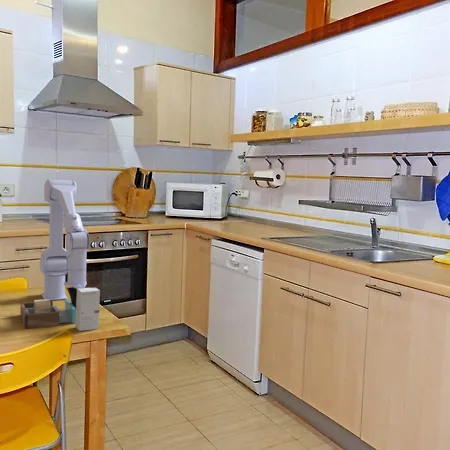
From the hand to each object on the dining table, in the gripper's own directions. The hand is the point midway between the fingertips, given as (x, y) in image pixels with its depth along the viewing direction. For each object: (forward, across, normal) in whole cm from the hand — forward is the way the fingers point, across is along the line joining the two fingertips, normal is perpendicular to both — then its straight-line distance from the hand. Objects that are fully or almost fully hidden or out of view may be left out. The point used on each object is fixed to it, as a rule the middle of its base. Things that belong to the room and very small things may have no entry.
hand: (76, 309), depth 158 cm
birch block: (+1, 0, -11) cm, 11 cm away
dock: (+2, 0, -11) cm, 12 cm away
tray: (+2, 0, -9) cm, 9 cm away
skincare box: (+3, +12, +1) cm, 12 cm away
